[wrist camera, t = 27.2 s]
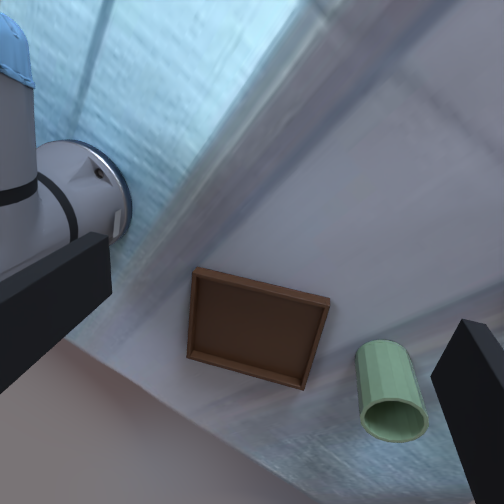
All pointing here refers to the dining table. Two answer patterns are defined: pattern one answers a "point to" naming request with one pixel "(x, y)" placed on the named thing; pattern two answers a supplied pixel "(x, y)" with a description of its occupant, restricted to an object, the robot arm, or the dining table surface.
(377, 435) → the cup
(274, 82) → the dining table surface
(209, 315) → the tray
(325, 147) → the dining table surface
